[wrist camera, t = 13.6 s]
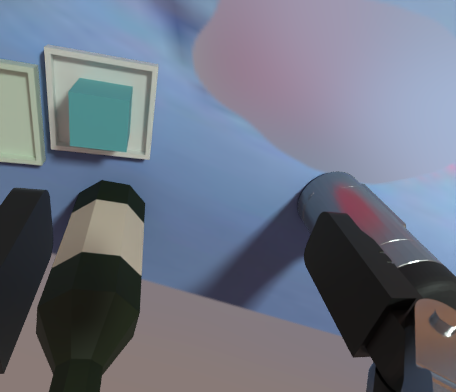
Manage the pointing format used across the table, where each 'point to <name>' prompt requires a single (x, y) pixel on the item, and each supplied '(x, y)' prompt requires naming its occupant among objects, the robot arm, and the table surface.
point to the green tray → (20, 114)
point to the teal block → (100, 115)
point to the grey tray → (106, 72)
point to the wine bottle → (93, 287)
